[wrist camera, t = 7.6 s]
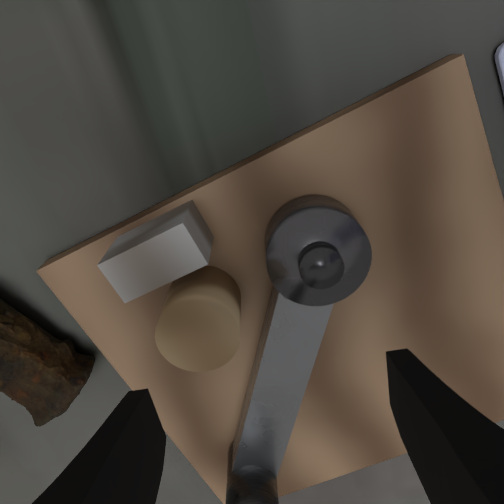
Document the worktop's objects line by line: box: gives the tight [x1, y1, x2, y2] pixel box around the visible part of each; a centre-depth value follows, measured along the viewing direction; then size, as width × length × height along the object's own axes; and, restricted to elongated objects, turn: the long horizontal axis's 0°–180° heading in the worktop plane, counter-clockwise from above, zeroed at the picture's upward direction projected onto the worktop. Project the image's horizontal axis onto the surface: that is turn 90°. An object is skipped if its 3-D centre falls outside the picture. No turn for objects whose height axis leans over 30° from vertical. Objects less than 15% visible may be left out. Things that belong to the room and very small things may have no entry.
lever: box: [226, 195, 372, 504], centre depth 20 cm, size 18×4×6 cm, turn 168°
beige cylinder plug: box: [155, 266, 241, 372], centre depth 20 cm, size 4×4×3 cm
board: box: [37, 54, 504, 504], centre depth 22 cm, size 21×20×4 cm
